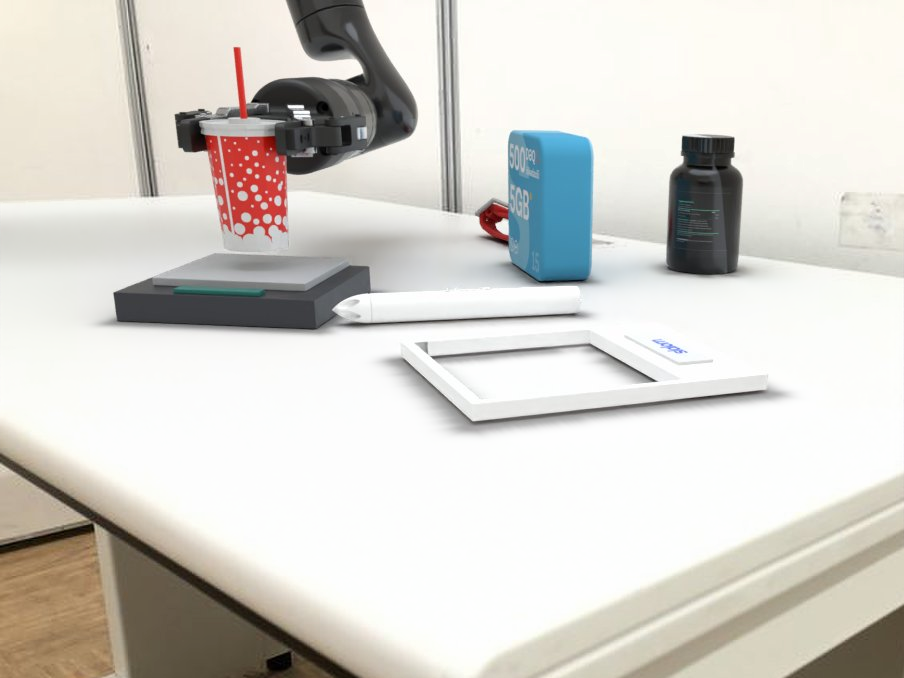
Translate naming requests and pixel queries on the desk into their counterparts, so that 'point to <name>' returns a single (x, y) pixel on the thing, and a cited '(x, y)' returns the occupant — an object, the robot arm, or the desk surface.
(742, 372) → the photo frame
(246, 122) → the beverage cup
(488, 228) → the tracker holder
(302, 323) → the scale
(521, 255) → the data package
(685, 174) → the supplement bottle
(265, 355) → the desk surface
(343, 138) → the robot arm
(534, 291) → the marker
